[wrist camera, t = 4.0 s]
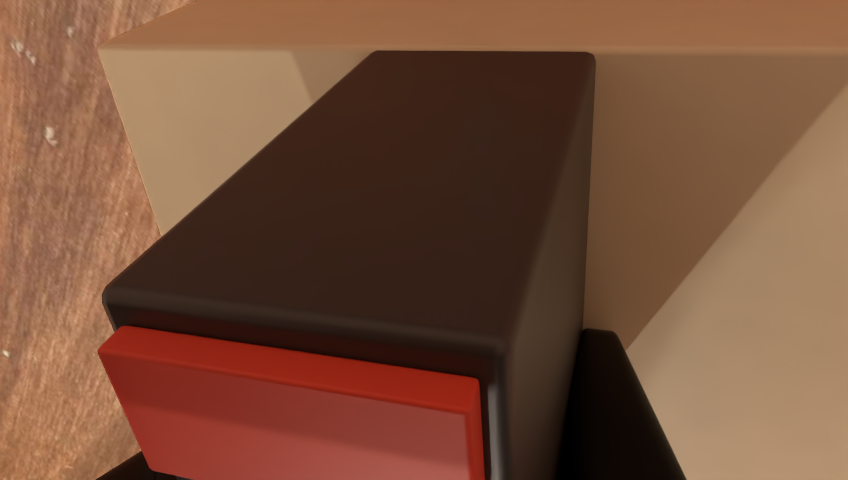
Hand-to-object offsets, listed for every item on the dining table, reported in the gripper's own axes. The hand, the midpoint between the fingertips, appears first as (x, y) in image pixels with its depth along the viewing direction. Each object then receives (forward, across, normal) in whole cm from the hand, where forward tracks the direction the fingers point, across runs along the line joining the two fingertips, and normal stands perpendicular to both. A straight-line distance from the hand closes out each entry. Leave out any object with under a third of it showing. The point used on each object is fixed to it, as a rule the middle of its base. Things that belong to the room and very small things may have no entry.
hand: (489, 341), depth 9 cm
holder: (0, 0, 0) cm, 0 cm away
